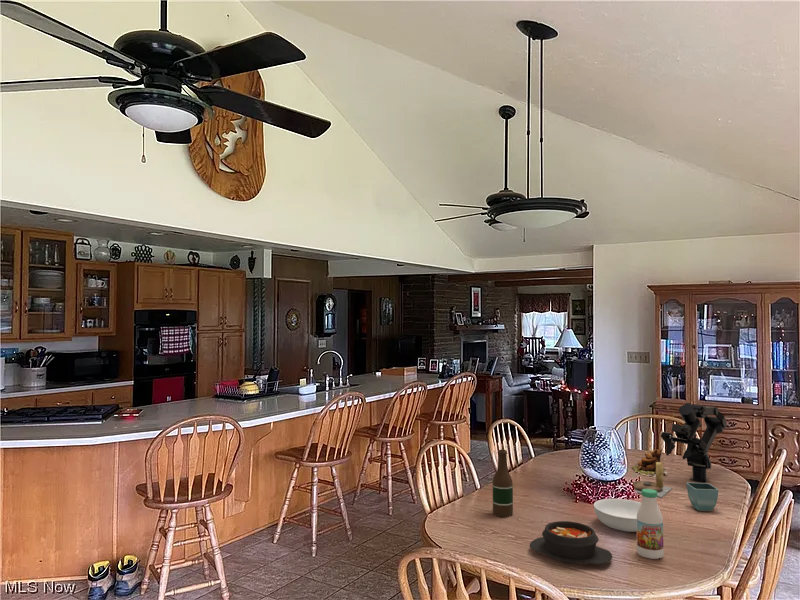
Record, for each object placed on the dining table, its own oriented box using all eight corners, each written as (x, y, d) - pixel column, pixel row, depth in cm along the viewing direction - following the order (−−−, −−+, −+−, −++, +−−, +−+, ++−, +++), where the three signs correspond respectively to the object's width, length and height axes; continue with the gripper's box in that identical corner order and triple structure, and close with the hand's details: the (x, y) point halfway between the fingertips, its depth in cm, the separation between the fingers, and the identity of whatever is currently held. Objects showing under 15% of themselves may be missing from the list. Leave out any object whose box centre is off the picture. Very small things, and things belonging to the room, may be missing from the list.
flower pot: (709, 505, 228) (709, 482, 228) (719, 513, 219) (719, 489, 219) (686, 505, 229) (685, 482, 229) (695, 512, 220) (694, 489, 220)
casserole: (618, 554, 182) (617, 527, 182) (605, 577, 166) (604, 547, 166) (540, 538, 195) (540, 513, 195) (521, 558, 179) (521, 530, 179)
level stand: (634, 482, 260) (634, 480, 260) (672, 489, 249) (672, 487, 249) (621, 490, 247) (621, 488, 247) (661, 498, 237) (661, 496, 237)
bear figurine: (648, 467, 285) (647, 442, 285) (673, 475, 271) (673, 449, 272) (627, 470, 280) (626, 445, 280) (651, 478, 266) (651, 452, 266)
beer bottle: (515, 512, 220) (515, 449, 221) (510, 519, 213) (510, 453, 214) (495, 509, 223) (495, 447, 224) (489, 515, 216) (489, 451, 217)
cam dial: (630, 489, 246) (630, 462, 246) (634, 482, 257) (633, 456, 257) (662, 493, 240) (661, 466, 240) (664, 486, 250) (664, 460, 251)
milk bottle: (632, 549, 185) (631, 487, 186) (655, 549, 186) (654, 486, 186) (644, 560, 178) (643, 494, 178) (668, 559, 178) (667, 493, 179)
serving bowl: (628, 542, 191) (627, 521, 191) (581, 522, 210) (581, 503, 210) (670, 532, 201) (670, 512, 201) (622, 513, 219) (621, 495, 219)
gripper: (662, 413, 262) (647, 441, 257) (702, 420, 246) (686, 449, 241) (673, 429, 266) (658, 456, 261) (713, 436, 250) (698, 466, 244)
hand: (674, 456), depth 251 cm, fingers open, 7 cm apart
